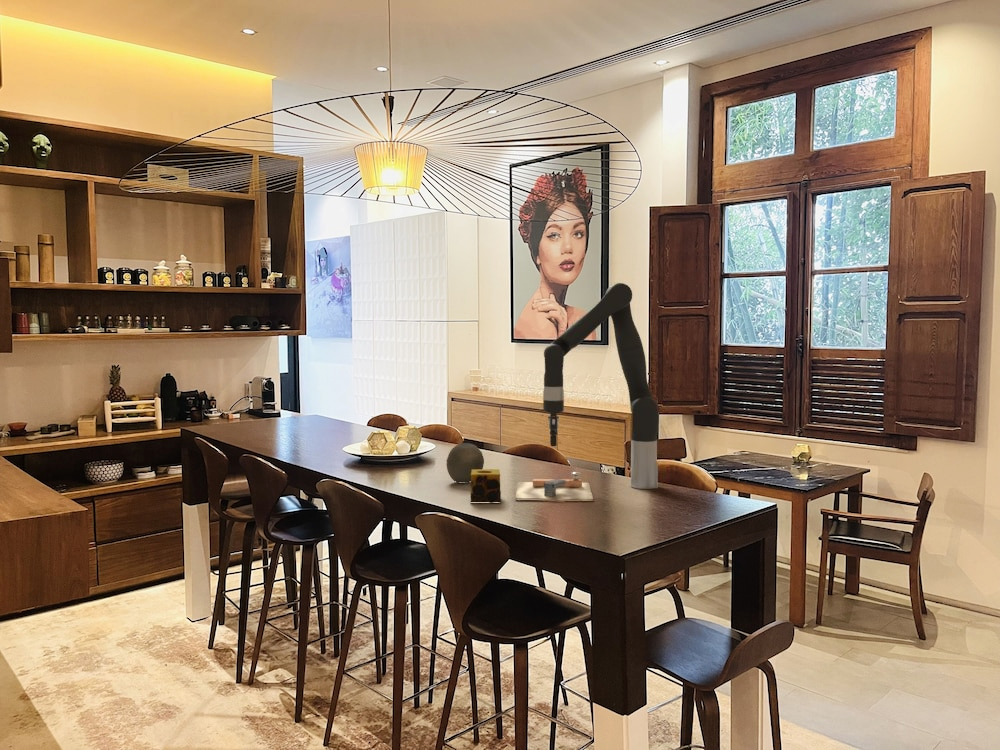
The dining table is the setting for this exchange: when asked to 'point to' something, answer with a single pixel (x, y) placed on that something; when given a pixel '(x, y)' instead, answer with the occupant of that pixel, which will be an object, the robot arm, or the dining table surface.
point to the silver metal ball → (575, 475)
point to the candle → (485, 485)
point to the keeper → (552, 487)
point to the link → (568, 481)
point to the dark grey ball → (464, 461)
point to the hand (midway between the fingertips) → (553, 444)
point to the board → (562, 492)
